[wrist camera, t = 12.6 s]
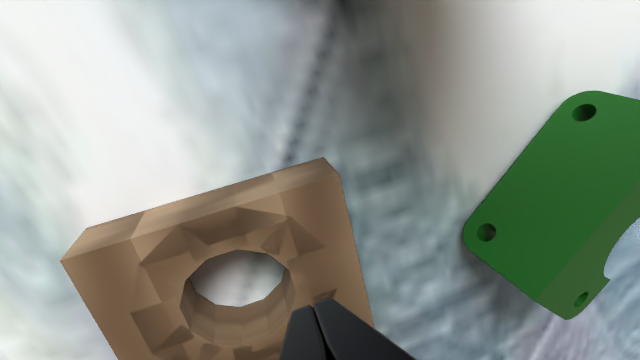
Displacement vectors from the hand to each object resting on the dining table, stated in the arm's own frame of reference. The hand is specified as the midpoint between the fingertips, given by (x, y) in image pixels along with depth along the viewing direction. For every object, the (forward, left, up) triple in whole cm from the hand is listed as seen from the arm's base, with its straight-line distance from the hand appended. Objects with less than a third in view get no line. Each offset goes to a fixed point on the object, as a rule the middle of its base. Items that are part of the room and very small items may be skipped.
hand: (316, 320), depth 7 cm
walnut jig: (+3, +9, -12) cm, 16 cm away
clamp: (-16, +7, -12) cm, 22 cm away
